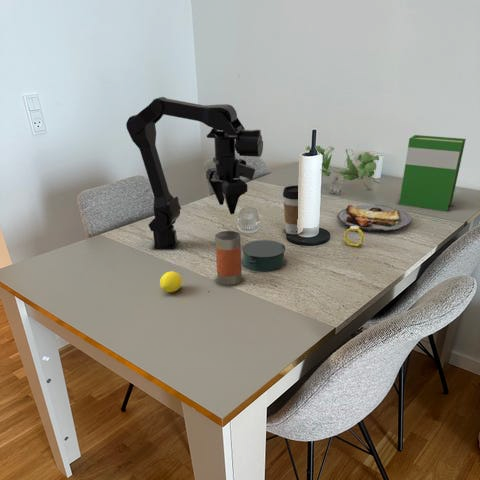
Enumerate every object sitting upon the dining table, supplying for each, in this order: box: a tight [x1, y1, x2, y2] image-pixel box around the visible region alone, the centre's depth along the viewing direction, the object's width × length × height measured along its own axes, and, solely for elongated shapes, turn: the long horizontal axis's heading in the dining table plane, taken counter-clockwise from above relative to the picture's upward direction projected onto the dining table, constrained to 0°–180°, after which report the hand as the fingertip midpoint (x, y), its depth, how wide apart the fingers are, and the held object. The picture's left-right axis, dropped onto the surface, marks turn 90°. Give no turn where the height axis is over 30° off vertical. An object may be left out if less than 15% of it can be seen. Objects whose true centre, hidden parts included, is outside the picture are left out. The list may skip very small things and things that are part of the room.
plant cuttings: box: [305, 145, 381, 195], centre depth 193 cm, size 35×17×22 cm
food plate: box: [336, 204, 413, 232], centre depth 163 cm, size 25×23×4 cm
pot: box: [241, 239, 286, 272], centre depth 137 cm, size 13×16×4 cm
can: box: [214, 230, 242, 286], centre depth 125 cm, size 7×7×13 cm
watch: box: [343, 226, 365, 247], centre depth 145 cm, size 6×3×6 cm, turn 57°
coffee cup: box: [282, 185, 299, 236], centre depth 154 cm, size 8×8×15 cm
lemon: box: [159, 270, 183, 293], centre depth 123 cm, size 7×5×5 cm
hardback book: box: [398, 134, 467, 212], centre depth 172 cm, size 18×7×24 cm, turn 58°
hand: (226, 209), depth 138 cm, fingers open, 9 cm apart
